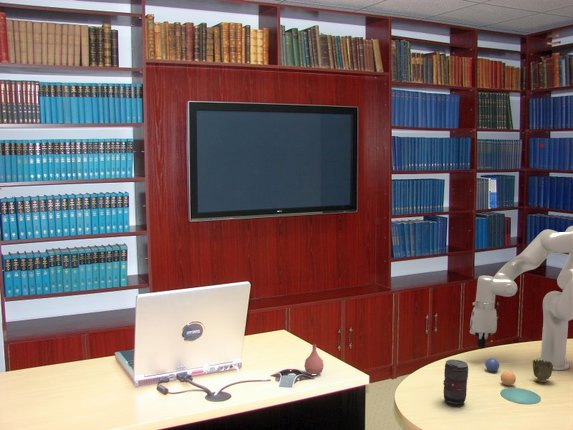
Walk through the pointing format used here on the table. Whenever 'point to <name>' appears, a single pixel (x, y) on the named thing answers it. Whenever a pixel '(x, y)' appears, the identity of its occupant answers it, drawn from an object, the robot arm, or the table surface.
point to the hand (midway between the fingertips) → (480, 347)
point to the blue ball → (492, 364)
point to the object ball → (508, 378)
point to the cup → (542, 370)
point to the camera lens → (455, 382)
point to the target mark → (520, 396)
